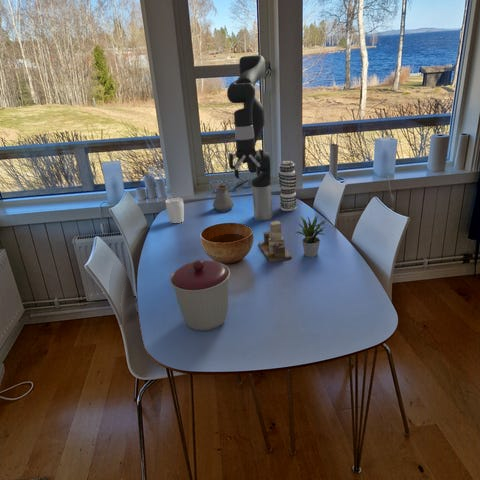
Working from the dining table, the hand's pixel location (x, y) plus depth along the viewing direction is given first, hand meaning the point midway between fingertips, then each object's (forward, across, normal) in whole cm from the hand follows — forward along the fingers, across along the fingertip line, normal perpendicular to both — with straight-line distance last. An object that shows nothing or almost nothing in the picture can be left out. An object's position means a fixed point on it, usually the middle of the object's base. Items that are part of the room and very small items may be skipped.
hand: (247, 176), depth 166 cm
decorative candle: (+30, -28, -36) cm, 55 cm away
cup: (+30, +31, -40) cm, 59 cm away
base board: (+30, -6, +12) cm, 33 cm away
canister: (+30, +27, +53) cm, 66 cm away
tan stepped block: (+28, -6, +16) cm, 33 cm away
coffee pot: (+31, 0, -49) cm, 57 cm away
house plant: (+30, -20, +22) cm, 42 cm away
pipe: (+26, -6, +12) cm, 30 cm away
